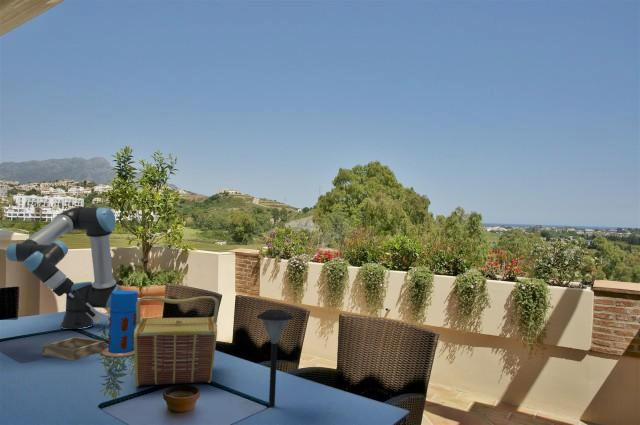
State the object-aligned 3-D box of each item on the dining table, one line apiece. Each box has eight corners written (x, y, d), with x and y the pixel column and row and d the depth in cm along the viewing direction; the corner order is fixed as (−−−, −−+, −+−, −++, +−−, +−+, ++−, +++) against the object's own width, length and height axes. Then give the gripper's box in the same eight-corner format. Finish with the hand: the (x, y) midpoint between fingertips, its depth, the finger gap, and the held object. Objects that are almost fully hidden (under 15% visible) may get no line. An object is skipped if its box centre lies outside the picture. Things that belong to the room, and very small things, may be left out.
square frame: (75, 345, 207) (75, 336, 207) (104, 350, 202) (104, 341, 202) (42, 355, 192) (43, 345, 192) (73, 360, 186) (73, 350, 186)
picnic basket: (127, 393, 154) (131, 302, 154) (136, 369, 178) (140, 291, 179) (217, 388, 161) (221, 302, 162) (214, 366, 186) (217, 291, 187)
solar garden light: (291, 399, 154) (295, 308, 155) (290, 414, 142) (294, 315, 142) (254, 398, 153) (258, 307, 154) (250, 413, 141) (254, 314, 142)
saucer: (120, 345, 211) (120, 343, 211) (149, 349, 206) (149, 348, 206) (92, 353, 196) (92, 352, 196) (123, 358, 191) (123, 357, 191)
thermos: (139, 347, 206) (142, 291, 207) (127, 354, 195) (130, 294, 196) (116, 346, 207) (119, 290, 208) (102, 352, 196) (105, 293, 197)
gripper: (50, 286, 198) (87, 319, 205) (52, 294, 177) (94, 331, 184) (65, 273, 201) (101, 306, 208) (69, 280, 180) (109, 316, 187)
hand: (98, 318), depth 196 cm, fingers open, 13 cm apart
